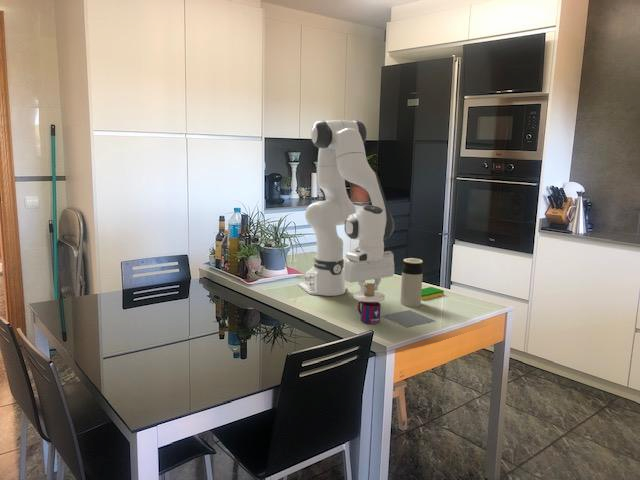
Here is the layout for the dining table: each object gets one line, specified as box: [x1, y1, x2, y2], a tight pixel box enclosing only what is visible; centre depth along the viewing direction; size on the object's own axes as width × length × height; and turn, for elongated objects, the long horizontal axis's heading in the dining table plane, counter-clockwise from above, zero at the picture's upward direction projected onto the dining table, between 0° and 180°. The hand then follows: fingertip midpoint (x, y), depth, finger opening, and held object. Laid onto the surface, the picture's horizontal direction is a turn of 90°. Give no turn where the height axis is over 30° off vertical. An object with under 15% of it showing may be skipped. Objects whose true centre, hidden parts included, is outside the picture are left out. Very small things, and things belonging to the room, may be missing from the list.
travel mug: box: [399, 257, 424, 308], centre depth 205 cm, size 8×8×18 cm
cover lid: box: [353, 282, 386, 303], centre depth 184 cm, size 11×11×5 cm
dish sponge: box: [421, 286, 445, 301], centre depth 219 cm, size 7×14×2 cm, turn 127°
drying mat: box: [381, 309, 436, 329], centre depth 189 cm, size 14×14×1 cm
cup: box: [357, 301, 381, 325], centre depth 185 cm, size 7×10×7 cm
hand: (369, 291), depth 184 cm, fingers closed on cover lid, 3 cm apart
